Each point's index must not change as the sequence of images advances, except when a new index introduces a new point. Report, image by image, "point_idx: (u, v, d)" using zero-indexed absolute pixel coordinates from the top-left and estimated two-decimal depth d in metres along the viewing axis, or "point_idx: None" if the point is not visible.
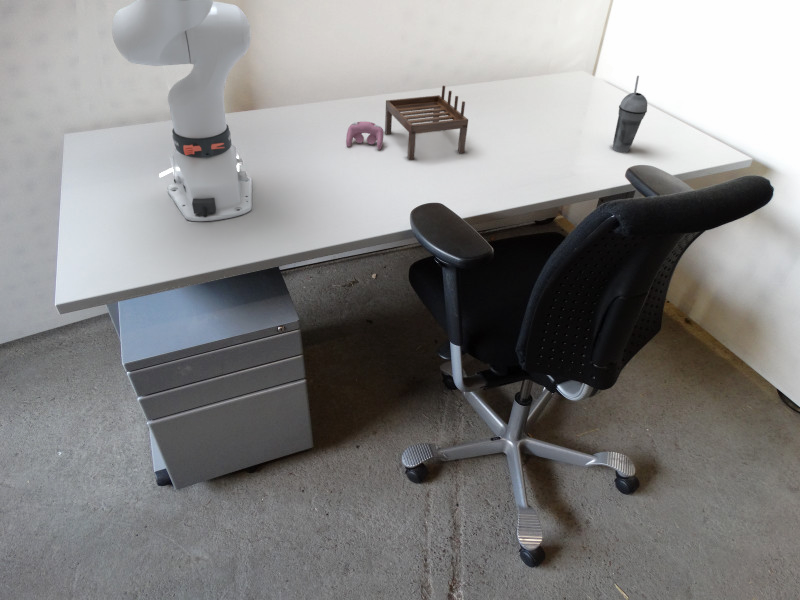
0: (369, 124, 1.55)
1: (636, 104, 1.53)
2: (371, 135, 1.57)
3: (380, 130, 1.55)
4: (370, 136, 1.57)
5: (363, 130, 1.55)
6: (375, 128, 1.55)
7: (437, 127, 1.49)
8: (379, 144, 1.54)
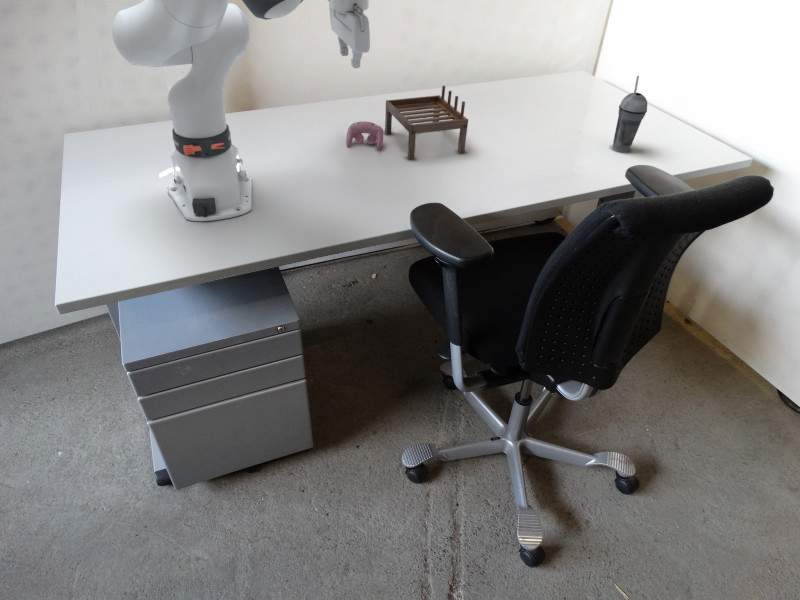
0: (369, 124, 1.55)
1: (636, 104, 1.53)
2: (371, 135, 1.57)
3: (380, 130, 1.55)
4: (370, 136, 1.57)
5: (363, 130, 1.55)
6: (375, 128, 1.55)
7: (437, 127, 1.49)
8: (379, 144, 1.54)
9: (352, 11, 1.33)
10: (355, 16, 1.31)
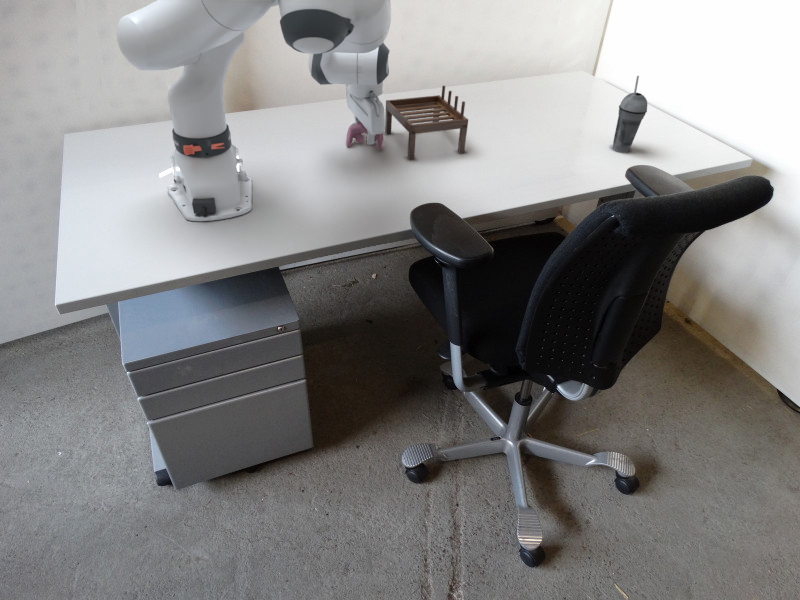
0: None
1: (636, 104, 1.53)
2: None
3: None
4: None
5: (363, 130, 1.55)
6: None
7: (437, 127, 1.49)
8: (379, 144, 1.54)
9: (368, 97, 1.45)
10: (371, 103, 1.43)
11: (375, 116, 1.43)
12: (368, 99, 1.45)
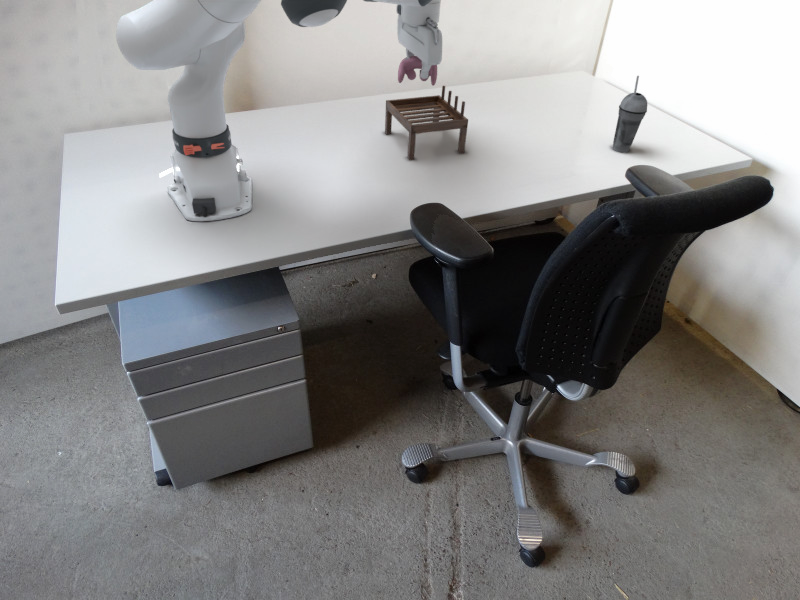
0: None
1: (636, 104, 1.53)
2: None
3: (434, 65, 1.46)
4: None
5: (416, 65, 1.46)
6: None
7: (437, 127, 1.49)
8: (433, 79, 1.45)
9: (425, 25, 1.36)
10: (429, 30, 1.34)
11: (433, 44, 1.34)
12: (425, 26, 1.36)
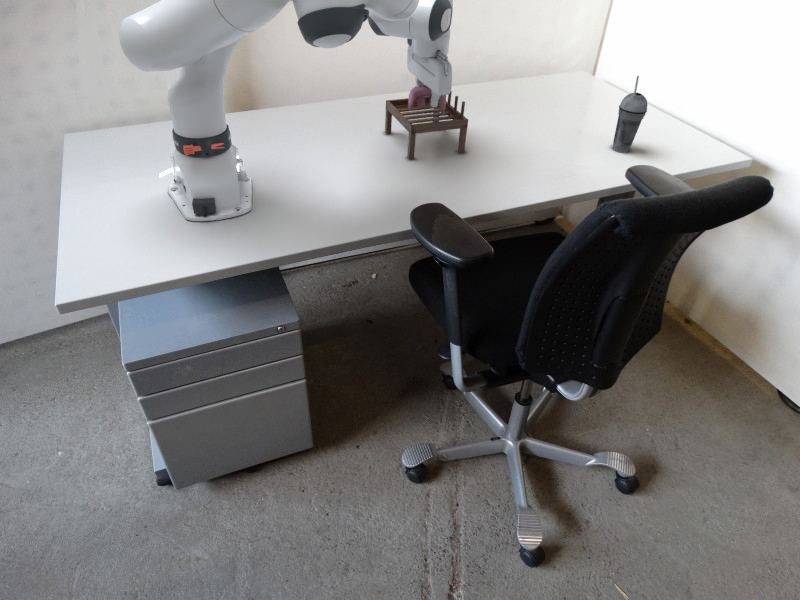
0: None
1: (636, 104, 1.53)
2: None
3: None
4: None
5: (426, 93, 1.52)
6: None
7: (437, 127, 1.49)
8: (442, 107, 1.51)
9: (435, 57, 1.42)
10: (439, 62, 1.40)
11: (443, 75, 1.40)
12: (435, 58, 1.42)
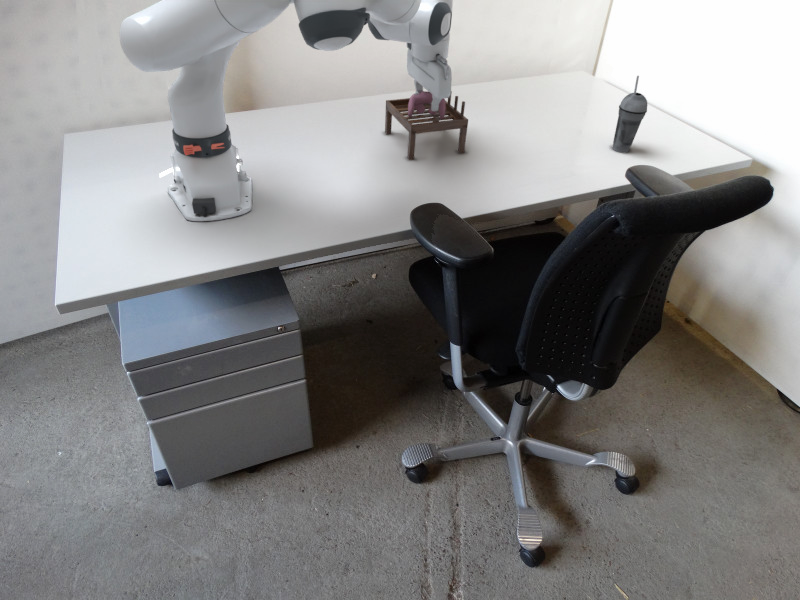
0: None
1: (636, 104, 1.53)
2: None
3: (443, 100, 1.53)
4: None
5: (425, 100, 1.53)
6: None
7: (437, 127, 1.49)
8: (442, 114, 1.52)
9: (435, 60, 1.43)
10: (439, 66, 1.40)
11: (442, 79, 1.41)
12: (435, 62, 1.42)
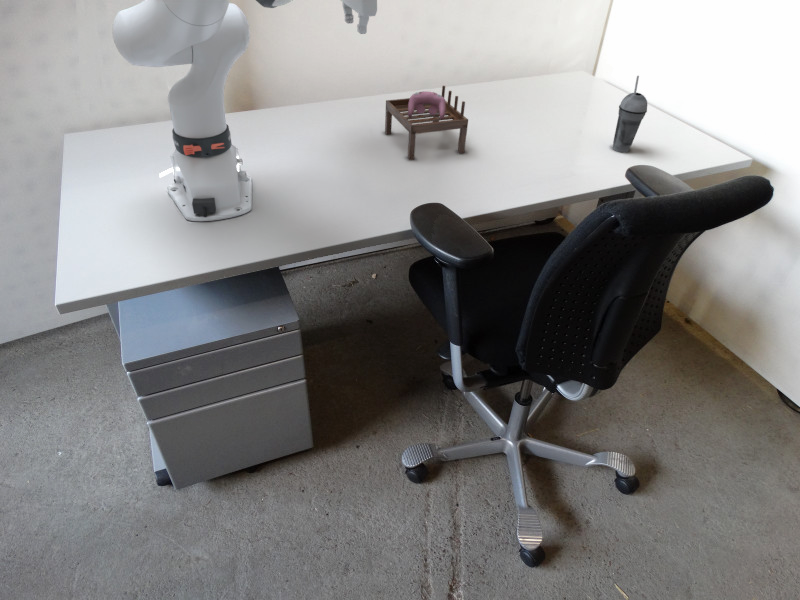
0: (432, 94, 1.52)
1: (636, 104, 1.53)
2: (433, 105, 1.54)
3: (443, 100, 1.53)
4: (432, 106, 1.54)
5: (425, 100, 1.53)
6: (438, 98, 1.52)
7: (437, 127, 1.49)
8: (442, 114, 1.52)
9: None
10: None
11: None
12: None
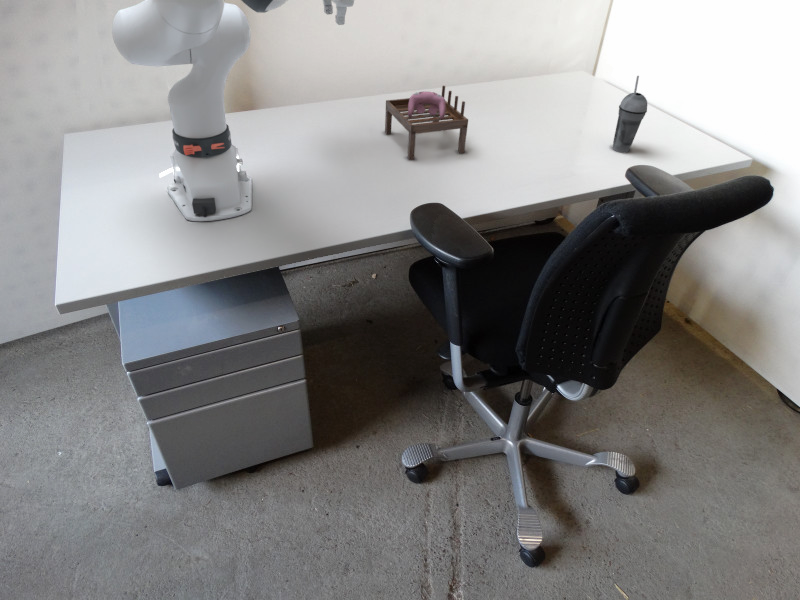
0: (432, 94, 1.52)
1: (636, 104, 1.53)
2: (433, 105, 1.54)
3: (443, 100, 1.53)
4: (432, 106, 1.54)
5: (425, 100, 1.53)
6: (438, 98, 1.52)
7: (437, 127, 1.49)
8: (442, 114, 1.52)
9: None
10: None
11: None
12: None
